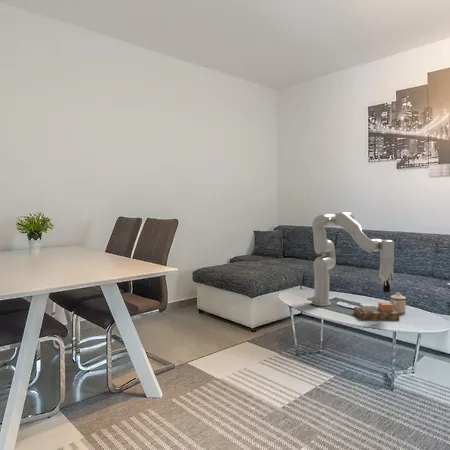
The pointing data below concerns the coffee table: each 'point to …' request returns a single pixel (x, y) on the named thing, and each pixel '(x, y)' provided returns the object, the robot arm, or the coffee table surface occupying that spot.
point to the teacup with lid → (398, 302)
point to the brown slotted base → (376, 314)
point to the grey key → (366, 307)
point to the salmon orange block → (385, 307)
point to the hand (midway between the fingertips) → (386, 291)
